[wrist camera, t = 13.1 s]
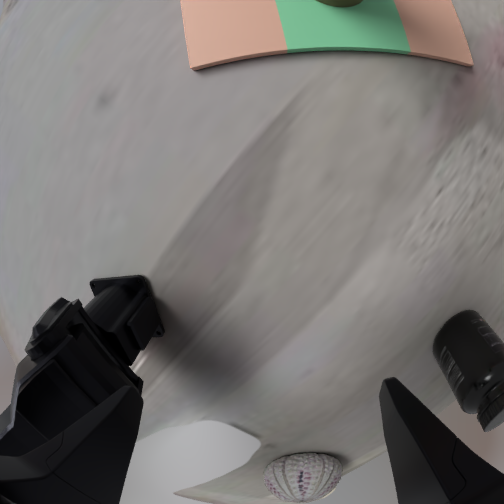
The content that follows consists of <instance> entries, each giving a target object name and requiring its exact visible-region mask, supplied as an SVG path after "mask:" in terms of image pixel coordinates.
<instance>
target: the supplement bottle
mask: <svg viewBox="0 0 504 504" xmlns="http://www.w3.org/2000/svg"><path fill="white" fill-rule="evenodd" d="M433 354H434V357H435V359H436V361H437V362H438V364H439V366H440V368H441V370H442V372H443V373H444V375H445V377H446V379H447V381H448V383H449V385H450V387H451V389H452V391H453V393H454V395H455V397H456V399H457V401H458V403H459V405H460V406H461V409H462V410H463V411H464V412H466V413H469V414H476V413H478V415H477V419H478V421H479V422H480V424H481V426H482V428H483V430H484V432H487V431H491V430H492V429H494V428H496V427H497V426H499V425H500V424H502V423H503V422H504V343H503V342H502V340H501V339H500V338H499V337H498V335H497V334H496V333H495V332H494V331H493V329H492V328H491V327H490V326H489V325H488V323H487V322H486V321H485V320H484V319H483V318H482V317H481V316H480V314H478V313H477V312H476V311H473V310H466V311H462V312H460V313H458V314H456V315H455V316H453V317H452V318H451V319H449V320H448V321H447V322H446V323H445V324H444V326H443V327H442V328H441V329H440V331H439V332H438V334H437V336H436V338H435V341H434V344H433Z"/></svg>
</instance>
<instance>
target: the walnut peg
mask: <svg viewBox="0 0 504 504" xmlns="http://www.w3.org/2000/svg"><path fill="white" fill-rule="evenodd" d="M316 1H318V2H320V3H323V4H325V5H329V6H333V7H352V6H355V5H357V4H359V3H361V2H362V1H363V0H316Z"/></svg>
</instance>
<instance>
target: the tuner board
mask: <svg viewBox="0 0 504 504" xmlns="http://www.w3.org/2000/svg"><path fill="white" fill-rule="evenodd" d="M180 2H181V9H182V16H183V23H184V30H185V37H186V44H187V50H188V57H189V63H190V68H191V69H192V70H193V71H195V70H198V69H202V68H206V67H210V66H214V65H219V64H223V63H228V62H232V61H238V60H243V59H248V58H254V57H261V56H268V55H275V54H284V53H294V52H307V51H328V50H356V51H377V52H390V53H399V54H408V55H415V56H421V57H427V58H433V59H438V60H443V61H448V62H452V63H456V64H460V65H464V66H468V67H469V66H473V61H472V57H471V54H470V50H469V47H468V44H467V41H466V38H465V35H464V32H463V29H462V26H461V24H460V21H459V18H458V16H457V13H456V11H455V9H454V6H453V4H452V2H451V0H363V1H362V2H361V3H359V4H357V5H355V6H352V7H333V6H329V5H325V4H323V3H320V2H318V1H316V0H180Z"/></svg>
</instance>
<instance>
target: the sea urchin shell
mask: <svg viewBox="0 0 504 504" xmlns="http://www.w3.org/2000/svg"><path fill="white" fill-rule="evenodd" d="M342 471H343V469H342V465H341V463H340V462H339V461H338V459H335V458H334V457H331V456H328V455H327V454H326V455H324V454H316V453H314V454H313V453H309V452H308V453H303V454H298V453H297V454H293V455H291V456H286V457H285V456H284V457H281V458H280V459H277V460H275V461H274V462H271V464H269V465H268V467H266V468H265V471H264V476H263V478H264V482H265V485H266V487H267V488H268V489H269V491H270V492H271V493H272V494H273V495H275V496H276V497H278V498H279V499H281V500H284V501H289V502H296V503H305V502H310V501H314V500H317V499H319V498H322V497H324V496H325V495H327V494H328V493H329V492H331V491H332V490H333V489H334V488H335V486H336V485H337V483H339V481H340V479H341V476H342Z"/></svg>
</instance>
